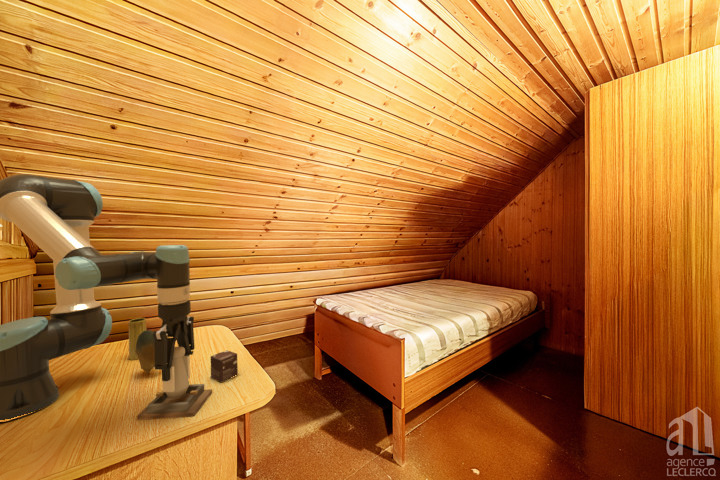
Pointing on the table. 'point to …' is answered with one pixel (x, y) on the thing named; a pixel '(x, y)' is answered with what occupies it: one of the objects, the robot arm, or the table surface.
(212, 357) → the box
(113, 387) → the table surface
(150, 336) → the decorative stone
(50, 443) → the table surface
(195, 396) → the base
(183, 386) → the salt shaker
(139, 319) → the vase
